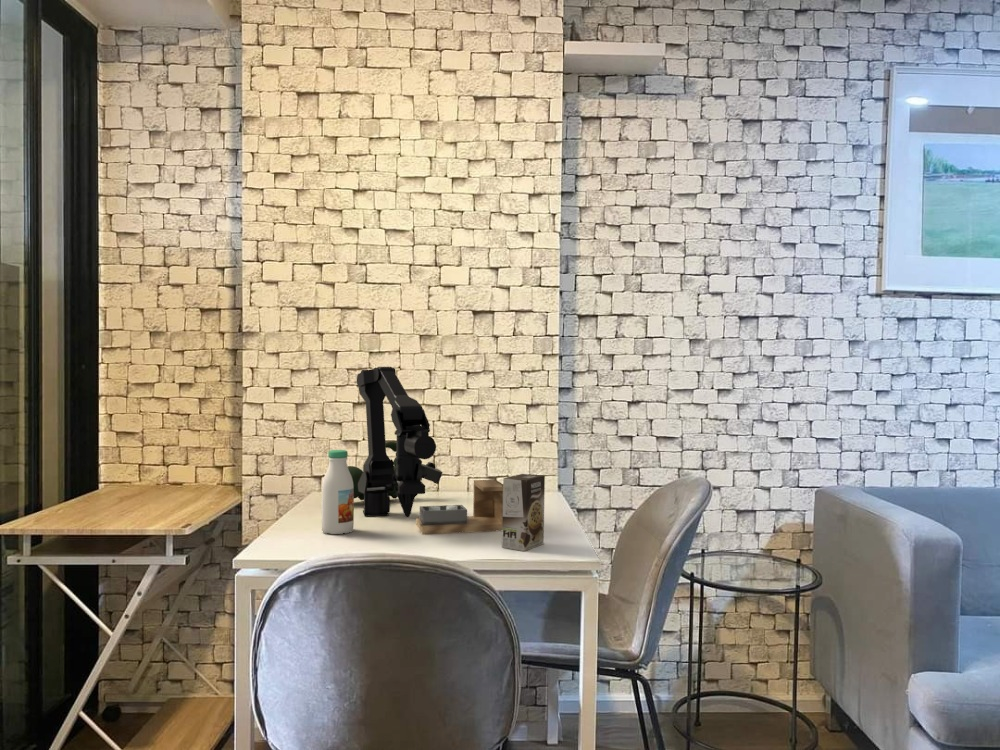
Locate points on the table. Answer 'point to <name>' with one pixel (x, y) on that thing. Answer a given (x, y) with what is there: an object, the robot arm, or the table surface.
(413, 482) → the robot arm
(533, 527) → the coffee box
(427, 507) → the tray
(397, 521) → the table surface
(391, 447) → the toy figurine
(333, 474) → the milk bottle
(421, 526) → the wooden l-shaped stand
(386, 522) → the table surface
